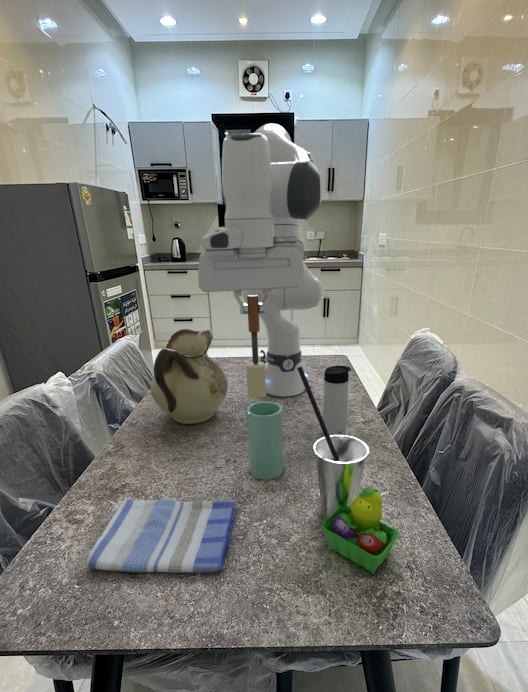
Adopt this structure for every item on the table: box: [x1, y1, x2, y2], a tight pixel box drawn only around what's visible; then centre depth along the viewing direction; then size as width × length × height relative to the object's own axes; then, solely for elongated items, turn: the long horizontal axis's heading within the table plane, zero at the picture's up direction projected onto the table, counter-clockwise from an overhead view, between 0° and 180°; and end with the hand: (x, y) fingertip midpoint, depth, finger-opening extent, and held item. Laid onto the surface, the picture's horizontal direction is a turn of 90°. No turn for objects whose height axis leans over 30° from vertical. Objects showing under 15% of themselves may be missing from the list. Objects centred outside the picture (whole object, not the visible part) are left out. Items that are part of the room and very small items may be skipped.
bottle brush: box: [245, 295, 267, 399], centre depth 79 cm, size 4×4×21 cm
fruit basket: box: [320, 486, 400, 574], centre depth 65 cm, size 11×9×11 cm
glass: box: [297, 367, 370, 521], centre depth 70 cm, size 11×11×30 cm
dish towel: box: [85, 498, 238, 574], centre depth 70 cm, size 17×24×3 cm
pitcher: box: [150, 328, 229, 425], centre depth 113 cm, size 22×24×25 cm
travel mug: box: [321, 365, 352, 438], centre depth 101 cm, size 6×7×20 cm
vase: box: [246, 401, 284, 481], centre depth 87 cm, size 8×8×16 cm
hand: (253, 313), depth 76 cm, fingers closed on bottle brush, 2 cm apart
